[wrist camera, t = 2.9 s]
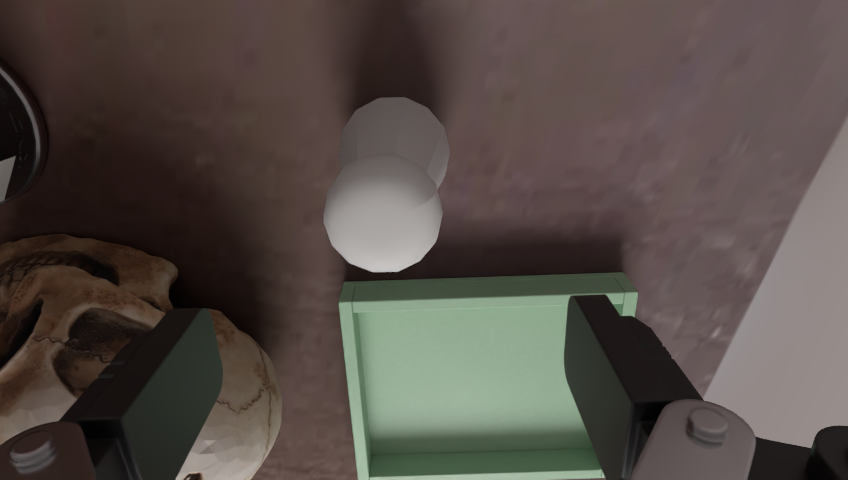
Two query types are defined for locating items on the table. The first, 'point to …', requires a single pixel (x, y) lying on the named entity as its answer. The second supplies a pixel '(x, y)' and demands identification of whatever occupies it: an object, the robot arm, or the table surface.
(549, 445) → the tray
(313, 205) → the table surface
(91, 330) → the coin bank
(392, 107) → the salt shaker
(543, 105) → the table surface
